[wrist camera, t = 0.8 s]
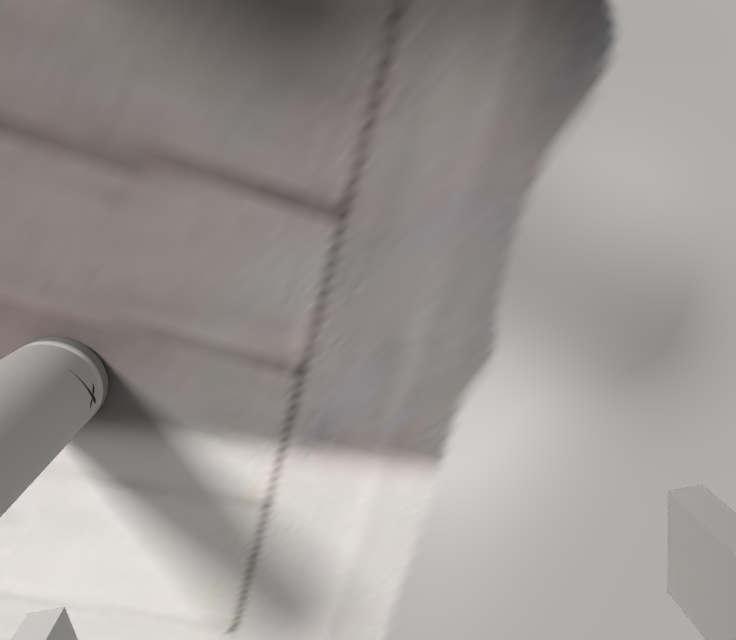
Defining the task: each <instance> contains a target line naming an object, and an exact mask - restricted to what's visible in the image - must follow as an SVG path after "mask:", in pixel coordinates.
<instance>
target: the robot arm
mask: <svg viewBox="0 0 736 640" xmlns="http://www.w3.org/2000/svg"><path fill="white" fill-rule="evenodd" d="M667 584H668V586H667V587H668V588H667V589H668V590H667V591H668V593H669V594H670V595H671V597H672V598H673V599H674V600H675V602H676V603H677V604H678V605H679V606H680V608H681V609H682V610H683V612H684V613H685V614H686V615H687V617H688V618H689V619H690V620H691V621H692V623H693V624H694V625H695V626H696V628H697V629H698V630H699V631H700V633H701V634H702V635H703V636H704V637H705V639H706V640H736V513H735V512H734V511H732V510H731V509H730V508H729V507H728V506H726V505H725V504H724V503H723V502H722V501H721V500H719V499H718V498H717V497H716V496H715V495H714V494H712V493H711V492H710V491H709V490H708V489H707V488H705V487H704V486H703V485H697V486H692V487H687V488H682V489H676V490H672V491H668V583H667ZM11 640H78V639H77V637H76V634H75V632H74V629H73V627H72V624H71V622H70V619H69V617H68V614H67V612H66V609H65V607H61V608H56V609H51V610H45V611H40V612H35V613H30V614H27V616H26V617H25V619H24V620H23V622H22V623H21V625H20V627H19V628H18V630H17V631H16V633H15V634H14V636H13V638H12V639H11Z"/></svg>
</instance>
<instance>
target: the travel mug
mask: <svg viewBox="0 0 736 640" xmlns="http://www.w3.org/2000/svg"><path fill="white" fill-rule="evenodd" d="M107 393H108V377H107V372H106V370H105V368H104V366H103V364H102V362H101V361H100V359H99V358H98V356H97V355H96V354H95V353H94V352H93V351H91V350H90V349H89V348H88V347H86V346H85V345H83V344H81V343H79V342H77V341H75V340H72V339H68V338H65V337H56V336H52V337H43V338H40V339H36V340H34V341H32V342H30V343H28V344H26V345H24V346H23V347H21V348H19V349H18V350H16V351H15V352H13V353H11V354H9V355H8V356H6V357H4V358H3V359H1V360H0V517H1V516H2V515H3V514H4V513H5V512H6V511H7V509H8V508H9V507H10V506H11V505H12V504H13V503H14V502H15V501H16V500H17V499H18V497H19V496H20V495H21V494H22V493H23V492H24V491H25V490H26V489H27V488H28V486H29V485H30V484H31V483H32V482H33V481H34V480H35V479H36V478H37V477H38V476H39V474H40V473H41V472H42V471H43V470H44V469H45V468H46V467H47V466H48V465H49V464H50V462H51V461H52V460H53V459H54V458H55V457H56V456H57V455H58V454H59V453H60V452H61V450H62V449H63V448H64V447H65V446H66V445H67V444H68V443H69V442H70V441H71V440H72V438H73V437H74V436H75V435H76V434H77V433H78V432H79V431H80V430H81V429H82V428H83V426H84V425H85V424H86V423H87V422H88V421H89V420H90V419H91V418H92V417H93V416H94V414H95V413H96V412H97V411H98V410H99V409H100V407H101V406H102V405H103V403H104V401H105V399H106V397H107Z"/></svg>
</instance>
